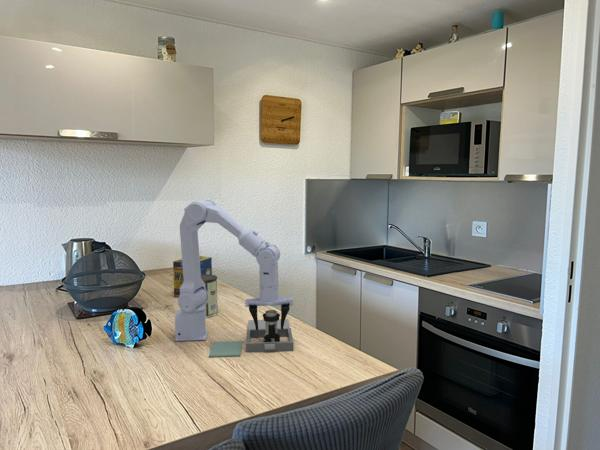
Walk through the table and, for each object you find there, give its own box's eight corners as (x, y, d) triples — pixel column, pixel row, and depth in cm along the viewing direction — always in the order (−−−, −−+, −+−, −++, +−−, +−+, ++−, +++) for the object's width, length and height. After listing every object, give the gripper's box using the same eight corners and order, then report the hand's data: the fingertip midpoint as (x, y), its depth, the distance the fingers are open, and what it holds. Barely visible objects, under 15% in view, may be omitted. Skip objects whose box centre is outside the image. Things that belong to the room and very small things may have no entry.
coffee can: (194, 309, 177) (193, 273, 175) (220, 310, 176) (220, 274, 174) (185, 317, 167) (184, 280, 165) (213, 318, 166) (212, 280, 164)
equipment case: (245, 353, 134) (245, 345, 133) (248, 323, 160) (248, 316, 160) (293, 351, 135) (293, 343, 135) (288, 322, 161) (288, 315, 161)
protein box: (173, 297, 194) (172, 261, 193) (192, 288, 209) (191, 255, 207) (195, 299, 191) (194, 262, 190) (212, 290, 206) (212, 256, 204)
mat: (208, 357, 131) (208, 355, 131) (212, 343, 142) (212, 341, 141) (240, 356, 131) (240, 354, 131) (242, 342, 142) (241, 340, 142)
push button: (262, 348, 138) (262, 315, 137) (256, 342, 142) (255, 311, 141) (282, 344, 141) (282, 312, 139) (276, 338, 145) (275, 308, 144)
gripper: (244, 289, 135) (245, 333, 136) (293, 287, 136) (293, 332, 138) (245, 283, 142) (246, 325, 143) (292, 282, 143) (292, 324, 145)
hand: (269, 328), depth 141 cm, fingers open, 7 cm apart
